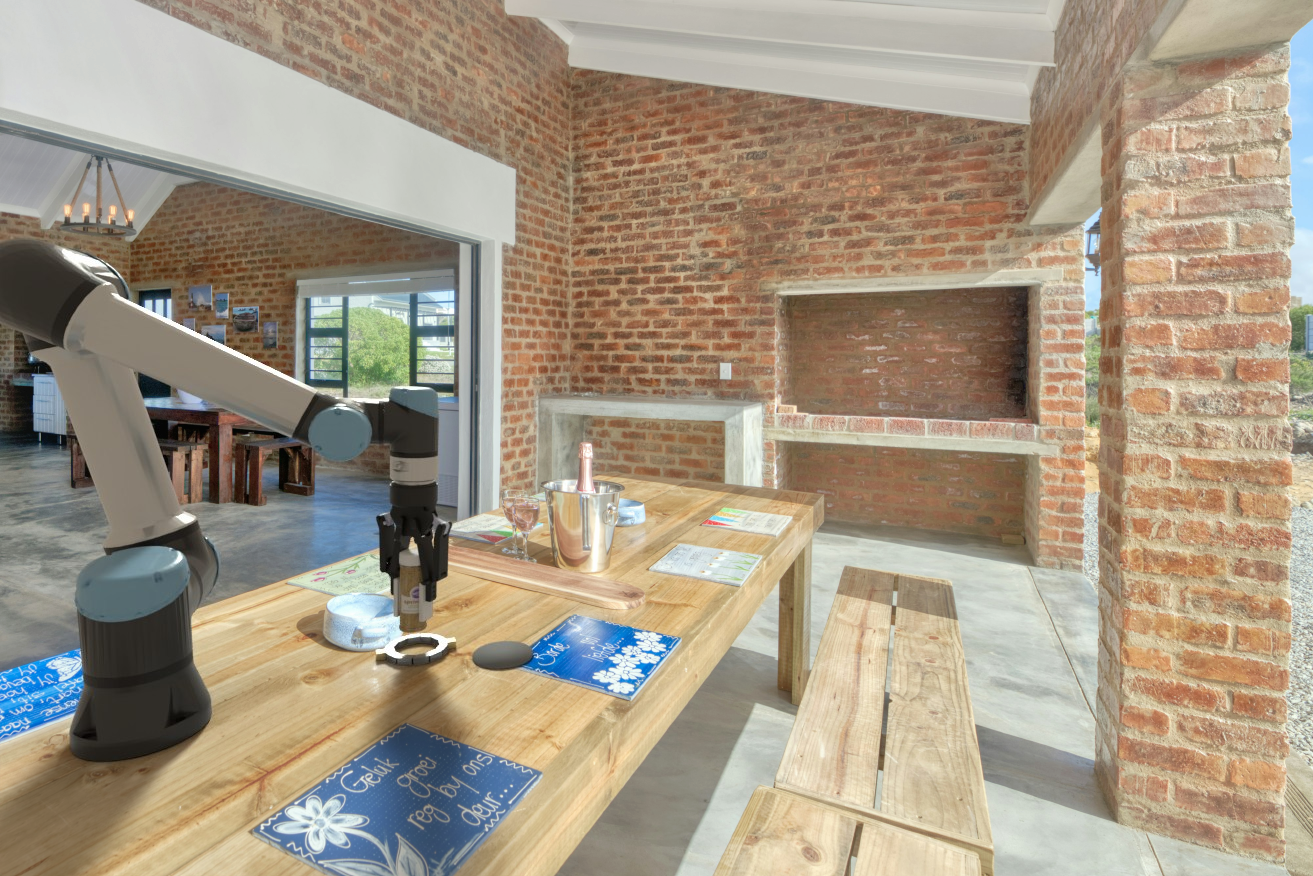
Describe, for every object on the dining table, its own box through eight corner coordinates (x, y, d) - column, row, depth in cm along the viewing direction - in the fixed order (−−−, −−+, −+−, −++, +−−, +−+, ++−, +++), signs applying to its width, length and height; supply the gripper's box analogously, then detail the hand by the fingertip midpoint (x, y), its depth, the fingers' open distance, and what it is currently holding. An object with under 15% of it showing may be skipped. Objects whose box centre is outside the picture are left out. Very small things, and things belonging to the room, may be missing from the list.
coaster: (479, 673, 109) (479, 671, 109) (467, 648, 118) (467, 646, 118) (540, 662, 114) (540, 660, 114) (523, 639, 123) (523, 637, 122)
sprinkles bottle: (408, 636, 112) (408, 557, 111) (393, 628, 115) (393, 551, 114) (432, 628, 116) (433, 551, 114) (418, 621, 119) (418, 545, 117)
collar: (379, 671, 109) (379, 664, 109) (374, 646, 118) (373, 640, 118) (460, 657, 115) (460, 650, 115) (450, 634, 124) (450, 628, 123)
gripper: (354, 478, 112) (355, 615, 114) (445, 490, 106) (443, 633, 109) (386, 472, 119) (385, 601, 121) (472, 482, 113) (470, 617, 116)
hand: (413, 616), depth 115 cm, fingers closed on sprinkles bottle, 4 cm apart
